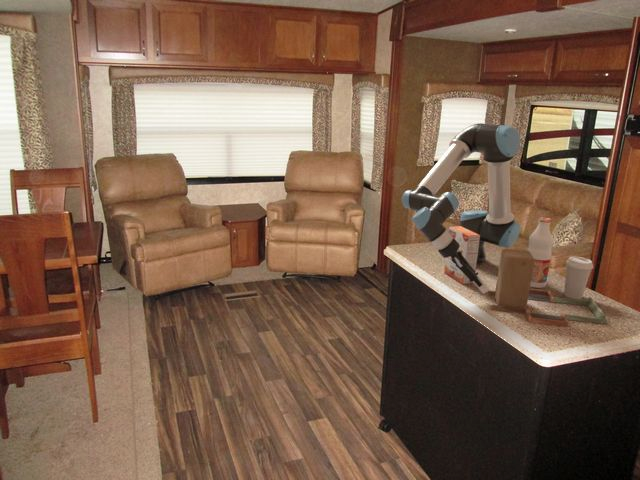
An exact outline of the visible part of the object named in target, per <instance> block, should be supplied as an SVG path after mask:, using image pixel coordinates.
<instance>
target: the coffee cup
mask: <svg viewBox="0 0 640 480" xmlns="http://www.w3.org/2000/svg"><path fill="white" fill-rule="evenodd" d="M565 264H566V269H565V281H564V291H563V296H565V297H566V298H567V299H576V300H583V298H584V293H585V291H586V287H587V284H588V281H589V277H590V276H591V272H592V269H594V264H593V261H592V260H591V259H589V258H586V257H582V256H581V257H580V256H570V257H569V258H568V259H567V260H566V262H565Z"/></svg>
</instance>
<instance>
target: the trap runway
mask: <svg viewBox="0 0 640 480" xmlns="http://www.w3.org/2000/svg"><path fill="white" fill-rule="evenodd" d="M487 296H493V297H495V291H493V290H488V291H487ZM528 300H530V301H538V302H547V303H554V302H556V303H564V304H573V305H582V306H588V308H589V307H590V308H589V309H590V310H591V312H592V311H593V312H592V313H593V314H594V316H595V315H596V316H595V317H591V316H584V315H575V314H564V313H563V312H560V315H553V314H552V315H551V314H545V313H536V312H530V310H529V308H526V309H524V308H516V307H507V306H498V304H492V308H491V309H492V311H493V310H494V311H500V312H501V311H502V312H509V313H510V312H511V313H519V314H525V316H526V319H527V320H528V322H529V323H533V324H534V323H535V324H545V325H552V326H559V327H566V328H567V327H569V326H570V321H577V322H579V321H580V322H587V323H588V322H589V323H595V324H602V323H604V324H605V322H606V321H605V320H606V317H607V315H606V314H605V313H604V312H603V311H602V309H601V308H600V307H599V305H598V304H597V303H596V302H595V300H594V299H593V298H592V297H591V296H588V298H587V300H584V299H571V298H568V297H566V298H565V297H559V296H557V297H556V296H553V294H552V292H551V291H550V290H545V289H544V290H543V289H537V288H536V289H535V288H534V289H533V288H530V289H529V295H528Z"/></svg>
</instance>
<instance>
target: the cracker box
mask: <svg viewBox="0 0 640 480" xmlns="http://www.w3.org/2000/svg"><path fill="white" fill-rule="evenodd" d="M448 231H449V233H450V234H451V235H452V236H453V238H454V239H455V240H456V241H457V242H458V243H459V245H460V247H459V249H458V250H457V251H458V252H459V251H460V252H461V253H462V255H463V257H464V258H465V259H466V261H467V262H468V263H469V264H470V266H471V267H472V268H473V269H474V270H475V272H476V270H477V265H478V264H477V256H478V249H479V242H480V235H478V234H476V233H474V232H472V231H470V230H468V229H466V228H464V227H462V226H460V225H458V226H457V225H455V226H454V225H453V226H449V229H448ZM444 273H445V274H446V275H448V276H449V277H451V278H452V279H454V280H455V281H457V282H458V283H460V284H461V285H468V284H474V283H473V281H472V282H470V279H469V278H468V277H467V276H466V275H465V274H464V273H463V272H462V271H461V270H460V269H459V268H458V267H456V264H455V263H453V262H452V259H451V257H447V258H445V264H444Z"/></svg>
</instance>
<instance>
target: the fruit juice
mask: <svg viewBox="0 0 640 480" xmlns="http://www.w3.org/2000/svg"><path fill="white" fill-rule="evenodd" d="M537 222H538V224H537V225H536V228H535V229H534V230H533V232H531V234H530V235H529V238H528V247H527V248H526V251H529V252H530V253H531V255H532V256H533V258H534V260H535V261H534V267H533V272H532V278H531V284H530V288H534V289H535V288H536V289H542V288H545V287H546V284H547V281H548V275H549V269H550V264H551V260H552V253H553V252H552V247H553V245H554V236H553V235H552V233H551V229H550V228H551V226H550V225H551V224H552V218H550V217H545V216H544V217H543V216H541V217H538V218H537Z"/></svg>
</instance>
